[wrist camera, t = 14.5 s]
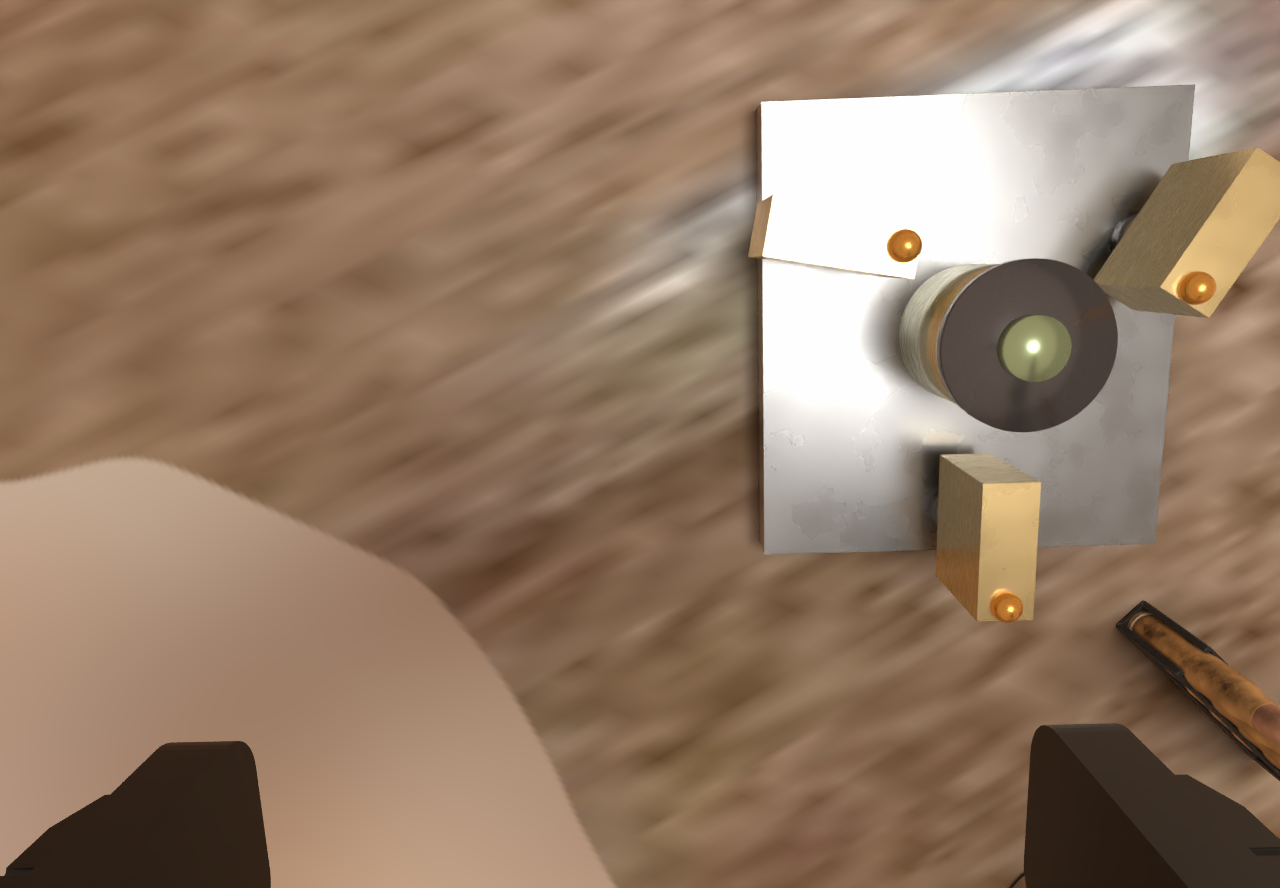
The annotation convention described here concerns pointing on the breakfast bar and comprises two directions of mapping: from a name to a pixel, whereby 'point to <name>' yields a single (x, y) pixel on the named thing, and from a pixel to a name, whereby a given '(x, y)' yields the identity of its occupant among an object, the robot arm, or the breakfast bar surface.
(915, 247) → the cream rectangular block
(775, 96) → the breakfast bar surface
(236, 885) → the robot arm
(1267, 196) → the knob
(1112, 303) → the plate
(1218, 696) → the ammunition clip
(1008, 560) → the block with orange knob
